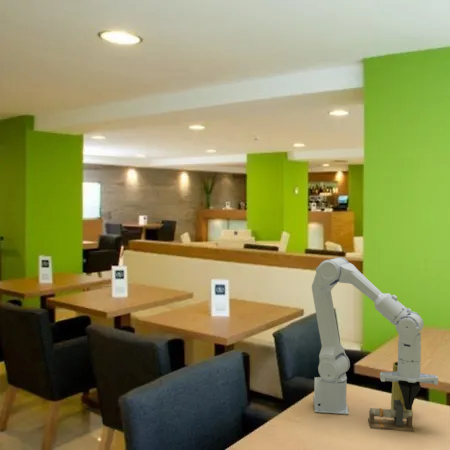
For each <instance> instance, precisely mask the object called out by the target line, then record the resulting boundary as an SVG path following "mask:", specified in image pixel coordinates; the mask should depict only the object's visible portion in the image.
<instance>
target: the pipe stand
mask: <svg viewBox="0 0 450 450" xmlns="http://www.w3.org/2000/svg"><path fill="white" fill-rule="evenodd" d="M390 409H391V408H390ZM390 409H386V408H382V407H381V408H374V407H373V408H371V407H370V408H369V412H368V413H369V417H368V418H367V420H368V424H369V428H370V429H374V430H375V429H376V430H388V431H389V430H390V431H402V432H403V431H404V432H414V427H413V415H412V412H413V411H412V412H411V411H405V410H403V419H406V420H403V426H399V425H396V423H395V421H394V418H396V410H390ZM375 417H379V418H375ZM385 418H393V419H385Z"/></svg>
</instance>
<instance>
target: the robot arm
mask: <svg viewBox="0 0 450 450" xmlns="http://www.w3.org/2000/svg"><path fill="white" fill-rule="evenodd" d="M338 283H342V284H351V285H352V286H353V287H355V289H357V290H358V291H360V292H361V293H362V294H363V295H365V296H366V297H367V298H368V299H370V300H371V301H372V302H373V303H374V308H375V310H376V311H377V312H379V313H380V314H381V316H383V317H384V318H385V319H387V321H389V322H390V323H391V324H392V325H393V326H395V329H396V332H397V334H398V344H397V345H398V346H397V352H398V353H397V362H398V371H396V372H393V371H380V373H379V379H380V381H381V382H392V381H397V382H398V384H399V387H400V389H401V392H402V396H403V400H404V406H405V409H406V410H411V409H412V410H413V404H414V401H415V399H416V397H417V396H418V393H419V392H420V390H421V387H422V386H421V384H433V385H437V386H438V385H439V377H438V376H437V375H436V374H428V373H421V361H422V360H421V359H422V357H421V356H422V341H421V339H422V333H421V331H422V330H423V328H424V319H423V318H422V316H421V315H420V314H419V313H418V312H417V311H412V309H411V308H410V307H406V306H405V305H404V304H402V303H401V302H400V301H399V300H398V296H397V295H395V294H391V293H389V292H388V293H387V292H386V293H383V292H382V291H381V290H380V289H379V288H378V287H377V286H376V285H374V283H372V282H371V281H370V280H369V279H368V278H367V277H366V276H365V275H364V274H363V273H362V272H361V271H360V270H359V269H358V268H357V267H356V266H355V264H353V263H351V262H349V261H348V260H347V258H345V257H341V256H339V257H333V258H331V259H325V260H323V261H321V262H320V264H319V265H318V266H317V267H316V268H315V274H314V279H313V281H312V284H311V292H312V298H313V305H314V310H315V315H316V320H317V321H316V322H317V327H318V332H319V337H320V343H321V349H320V351H319V355H318V358H319V359H318V360H319V363H318V366H317V369H318V374H319V376H318V377H317V376H316V377H315V376H314V386H313V388H314V394H313V396H312V397H313V398H312V400H313V401H312V402H313V404H314V412H315V413H323V414H337V415H349V408H348V404H347V384H348V383H347V380H348V377H347V373H346V372H348V371H349V369H350V367H351V364H350V363H351V362H350V359H349V357H348V356H347V354H346V352H345V347H343V345H342V344H341V342H340V335H339V331H338V324H337V319H336V314H335V308H334V303H333V296H332V291H333V289H334V288H335V286H336V285H337V284H338Z"/></svg>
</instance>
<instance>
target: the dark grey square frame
mask: <svg viewBox="0 0 450 450" xmlns="http://www.w3.org/2000/svg"><path fill="white" fill-rule="evenodd" d="M394 410H396V418H393V420H394V421H395V423H396V425H399V426H403V421H404V418H403V405H402V403H401V401H400V400H394Z"/></svg>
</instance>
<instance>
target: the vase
mask: <svg viewBox="0 0 450 450" xmlns="http://www.w3.org/2000/svg"><path fill="white" fill-rule="evenodd" d="M396 371H398V361H394V362H393V363H392V372H396ZM391 383H392V384H391V385H392V387H391V397H390V410H394V400H400V401H401V403H402V405H403V410H405V411H411V412H412V416H413V413H414V412H413V408H412V409H411V410H406V409H405V406H404V400H403V396H402V392H401V389H400V387H399V384H398V382H397V381H391Z"/></svg>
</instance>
